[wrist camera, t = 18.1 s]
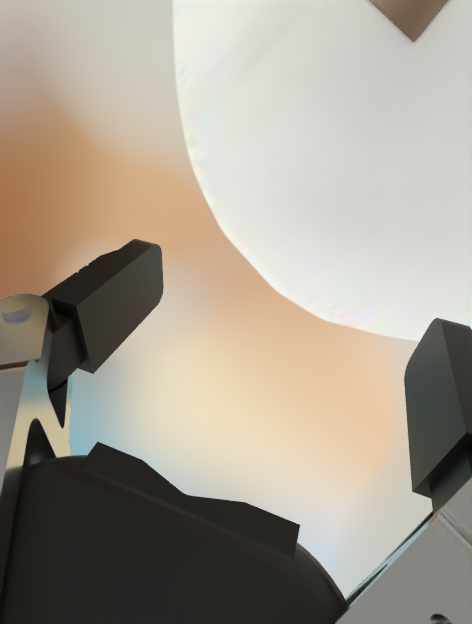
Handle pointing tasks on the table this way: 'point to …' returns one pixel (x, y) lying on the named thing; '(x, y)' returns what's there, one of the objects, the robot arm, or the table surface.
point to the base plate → (410, 14)
